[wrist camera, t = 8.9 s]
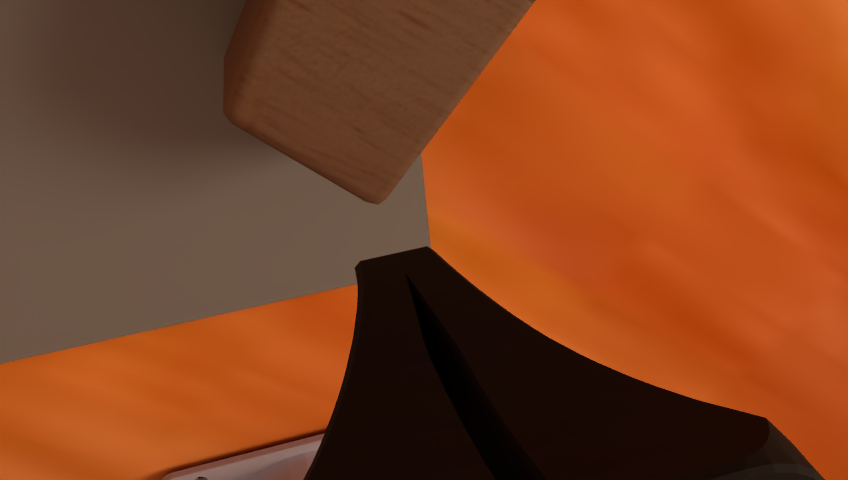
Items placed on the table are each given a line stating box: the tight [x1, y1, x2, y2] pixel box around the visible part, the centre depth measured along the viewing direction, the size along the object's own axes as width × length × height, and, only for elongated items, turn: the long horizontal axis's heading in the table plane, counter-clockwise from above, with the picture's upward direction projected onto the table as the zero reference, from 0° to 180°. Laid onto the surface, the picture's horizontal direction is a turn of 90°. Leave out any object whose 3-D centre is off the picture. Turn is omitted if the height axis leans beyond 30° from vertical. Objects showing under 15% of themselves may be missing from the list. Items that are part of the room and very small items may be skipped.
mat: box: [0, 0, 431, 364], centre depth 20 cm, size 17×14×1 cm
